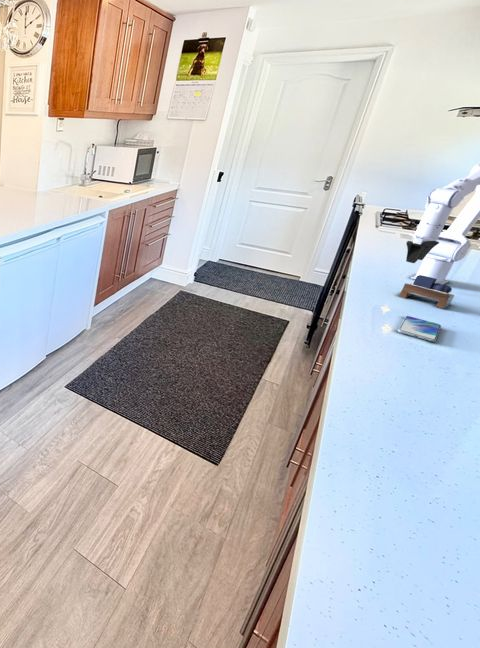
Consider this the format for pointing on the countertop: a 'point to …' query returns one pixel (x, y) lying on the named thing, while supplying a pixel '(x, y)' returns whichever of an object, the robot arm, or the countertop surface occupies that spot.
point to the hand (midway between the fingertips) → (414, 260)
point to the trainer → (431, 284)
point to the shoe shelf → (427, 294)
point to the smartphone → (420, 328)
